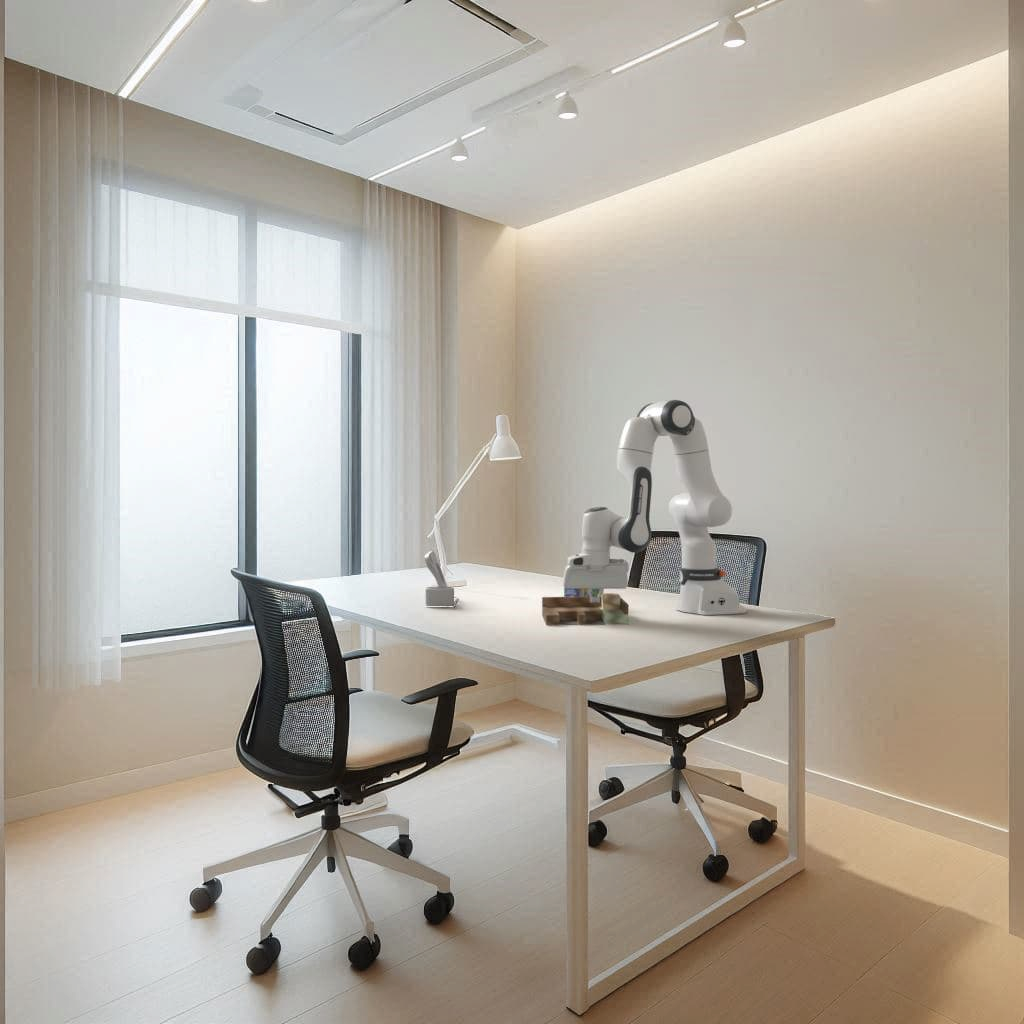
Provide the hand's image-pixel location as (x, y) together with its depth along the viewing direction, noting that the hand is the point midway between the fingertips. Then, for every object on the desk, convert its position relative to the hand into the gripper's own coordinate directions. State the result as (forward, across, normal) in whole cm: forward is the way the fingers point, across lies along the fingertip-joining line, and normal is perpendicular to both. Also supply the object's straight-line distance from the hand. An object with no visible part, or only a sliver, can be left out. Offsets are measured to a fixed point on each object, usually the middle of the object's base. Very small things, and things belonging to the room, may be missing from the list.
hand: (595, 602), depth 243 cm
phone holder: (+6, +50, -30) cm, 58 cm away
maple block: (+2, -5, 0) cm, 5 cm away
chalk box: (+5, +2, -17) cm, 18 cm away
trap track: (+5, +4, +2) cm, 7 cm away
